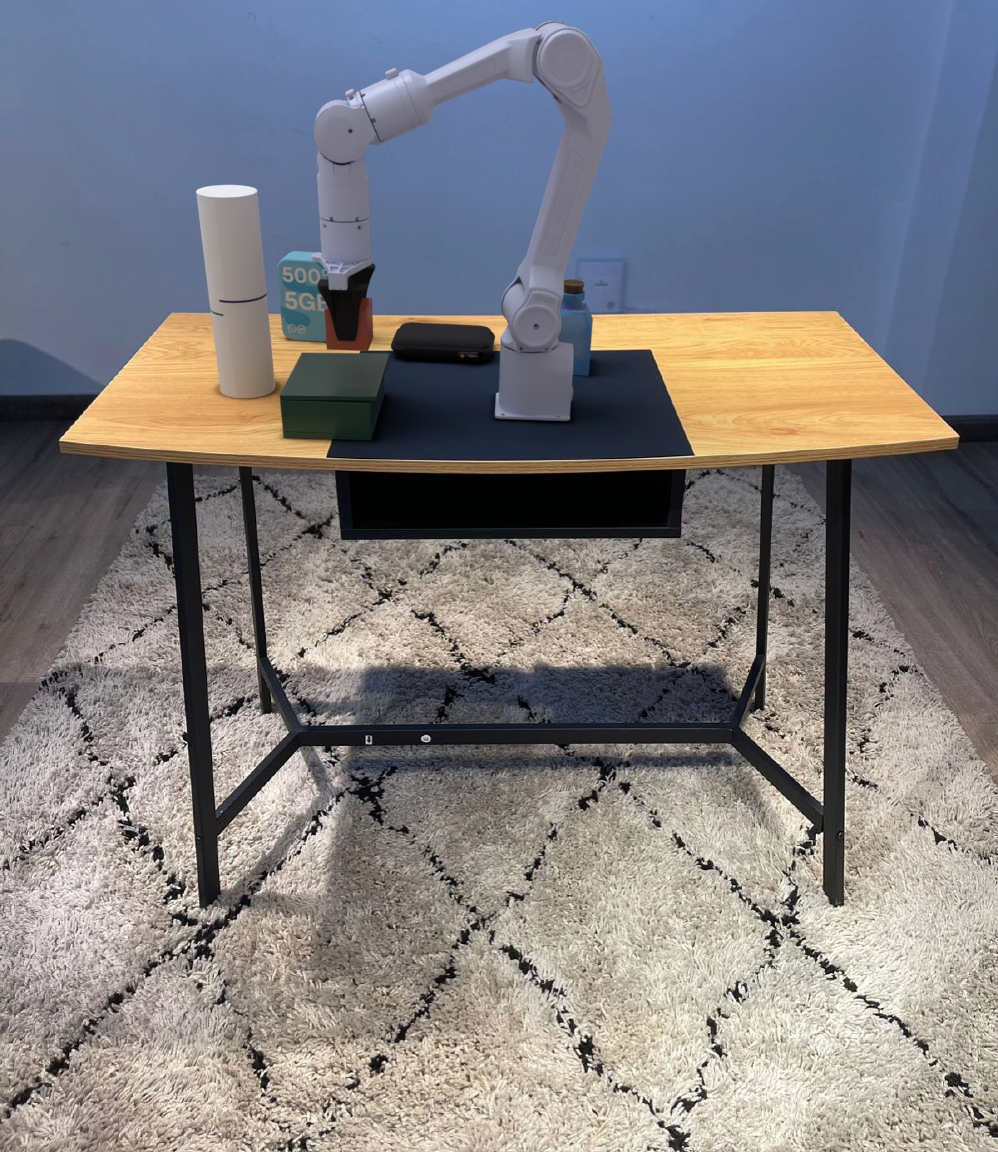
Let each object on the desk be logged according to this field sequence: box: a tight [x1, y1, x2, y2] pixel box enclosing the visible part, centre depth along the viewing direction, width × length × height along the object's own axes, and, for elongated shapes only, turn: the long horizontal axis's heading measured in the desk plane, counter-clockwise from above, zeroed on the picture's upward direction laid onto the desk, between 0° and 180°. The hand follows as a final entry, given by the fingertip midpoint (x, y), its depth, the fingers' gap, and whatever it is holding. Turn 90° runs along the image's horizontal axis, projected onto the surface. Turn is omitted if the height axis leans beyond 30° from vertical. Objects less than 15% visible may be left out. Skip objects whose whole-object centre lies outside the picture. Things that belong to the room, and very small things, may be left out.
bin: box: [279, 377, 386, 441], centre depth 127 cm, size 11×15×5 cm
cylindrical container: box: [195, 184, 276, 399], centre depth 129 cm, size 7×7×25 cm
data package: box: [276, 250, 328, 343], centre depth 150 cm, size 12×4×12 cm, turn 82°
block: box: [324, 297, 374, 352], centre depth 123 cm, size 5×5×5 cm
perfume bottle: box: [558, 278, 594, 377], centre depth 143 cm, size 6×6×12 cm
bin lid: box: [279, 352, 391, 401], centre depth 126 cm, size 11×15×1 cm
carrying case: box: [390, 322, 496, 362], centre depth 148 cm, size 11×3×15 cm
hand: (350, 332), depth 124 cm, fingers closed on block, 5 cm apart
